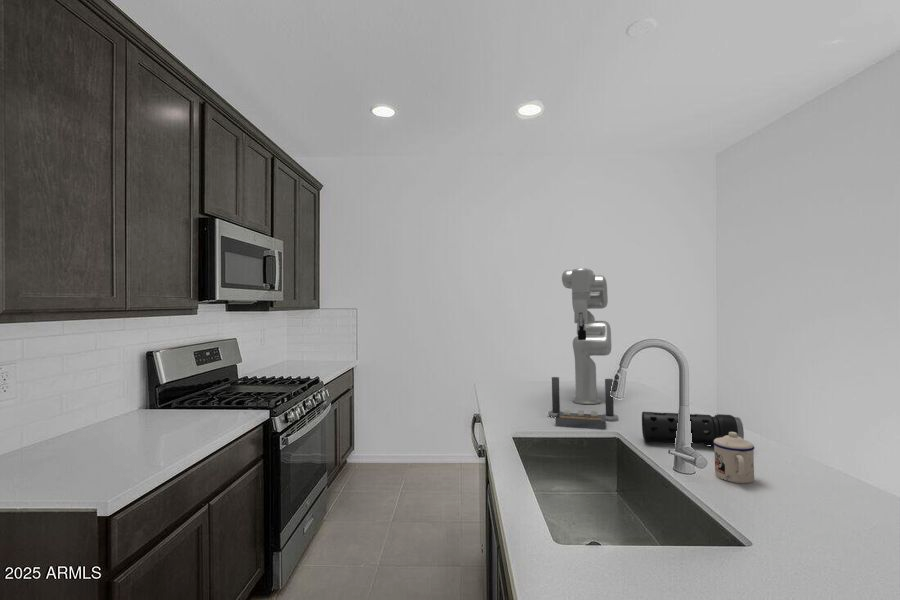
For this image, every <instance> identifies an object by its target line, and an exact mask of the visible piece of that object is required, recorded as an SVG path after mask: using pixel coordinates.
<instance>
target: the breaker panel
mask: <svg viewBox="0 0 900 600" xmlns="http://www.w3.org/2000/svg"><path fill="white" fill-rule="evenodd" d="M562 412H564V413H562ZM562 412H558V414H557V416H556V418H554V419H555V427H565V428H566V427H567V428H580V429H595V430H606V429H607V427H606V426H607V425H606V422H607V421H606V415H602V414H598V411H596V410H595V411H590V413H585V411H584V410H577V413H576V412H571V409H564V411H562Z"/></svg>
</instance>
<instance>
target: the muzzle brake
mask: <svg viewBox="0 0 900 600" xmlns="http://www.w3.org/2000/svg"><path fill="white" fill-rule="evenodd" d="M678 414H679V413H678V412H657V411H655V412H653V411H642V412H641V430H642V438H643V440H644V441H645V443H654V444H656V443H657V444H667V445H668V444H671V445H675V444H674V443H675V438H676V431H677V423H678ZM689 414H690V421H691V433H692V442H693V443H692V444H694V445H695V444H696V445H711V446H714V444H713V442H714V440H715V439H716V438H720V437H724V436H726V435H729V432H736V433H737V434H738V437H741V438H743V439H744V440H745V438H744V437H745V432H744V430H745V429H744V426H743V425H744V424H743V423H742V420H741V418H740V417H738V416H737V417H736V416H733V415H732V414H721V413H720V414H719V413H717V414H715V415H713V416H712V415H710V414H699V413H689Z"/></svg>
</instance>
